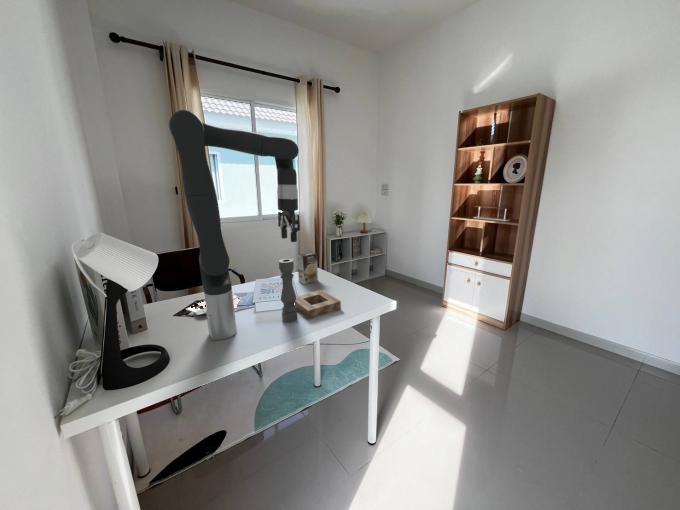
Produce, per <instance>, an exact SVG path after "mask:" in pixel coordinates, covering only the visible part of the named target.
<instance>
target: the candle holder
mask: <svg viewBox="0 0 680 510" xmlns="http://www.w3.org/2000/svg"><path fill="white" fill-rule="evenodd" d="M294 268H295V264H294V259H292V258H283V259H279V260H278V270H279V272H280V274H281V275H280V276H279V278H280V279H281V281H282V290H281V295H280V301H281V302H282V304H283V306H282V309H281V310H282V311H281V319H282V322H283V323H286V324H290V323H294V322H296V321H297V320H298V311H297V310H296V307H295V305H294V302H295V301H296V297H297V295H296V292H295V289H294V285H293V278H294V273H293V271H294Z"/></svg>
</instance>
